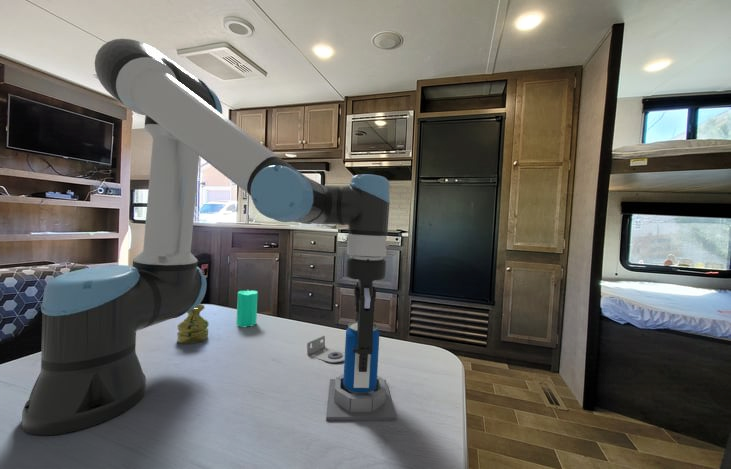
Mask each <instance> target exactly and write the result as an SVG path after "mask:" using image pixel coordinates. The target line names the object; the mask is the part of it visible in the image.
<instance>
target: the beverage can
mask: <svg viewBox="0 0 731 469" xmlns="http://www.w3.org/2000/svg"><path fill="white" fill-rule="evenodd" d="M357 328H358V321H355V320H354V321H352V322H350V323H348V327H347V328H346V330H345V340H344V341H345V342H344V343H345V345H344V352H345V359H344V361H343V362H344V363H343V374H344V378H343V384H344V387H345V388H346V389H348V390H349V391H350V392H351V393H354V394H358V395H363V394H368V393H370V392H371V391H372V390H374V389H375V388H376V386H377V376H378V370H379V369H378V368H379V365H378V364H379V350H380V348H379V347H380V345H379V344H380V331H379V329H378V328H379V327H378V325H377V324H376V322H375V323H374V322H373V342H372V349H373V352H372V354H371V357H370V375H369V388H354V370H355V353H353V349H356V348H357Z"/></svg>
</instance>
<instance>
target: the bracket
mask: <svg viewBox="0 0 731 469" xmlns="http://www.w3.org/2000/svg"><path fill="white" fill-rule="evenodd" d="M325 347H326V336H325V335H322V336H319V337H317V338H315V339H312V340H310V341H308V342H307V343H306V353H307V355H310V354H313V353H315V352H317V351H319V350H321V349H323V348H325ZM313 358H315V359H316V360H319V361H322V362H326V363H331V364H333V363H334V364H335V363H336V364H337V363H342V362H344V359H345V351H343V350H342V351H341V350H337V349H334V348H329V349H328V350H324V351H323V352H321V353H319V354H318V355H315V356H313Z"/></svg>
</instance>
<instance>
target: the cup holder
mask: <svg viewBox="0 0 731 469" xmlns="http://www.w3.org/2000/svg"><path fill="white" fill-rule="evenodd" d="M343 378H344V373H343V374H340V375H339V376H337V377H335V378H330V379H329V385H328V386H329V387H328V388H329V389H328V395H327V397H328V398H327V406H326V413H325V414H326V416H325V420H326V421H396V418H397V417H396V416H397V415H396V413H395V410H394V405H393V402H392V398H391V395H390V391H389V387H388V383H387V379H384V378H383V377H382V376H379V375H377V386H376V388H375V389H374V390H372V391H371V392H370V393H368V394H363V395H358V394H354V393H351V392H350V391H349V390H348V389H346V388H345V387H344V384H343Z"/></svg>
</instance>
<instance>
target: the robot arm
mask: <svg viewBox="0 0 731 469" xmlns="http://www.w3.org/2000/svg"><path fill="white" fill-rule="evenodd" d="M94 57H95V59H94V69H95V70H94V71H95V74H96V76H97V79H98V81H99V82H100V84H101V86H102V87H103V88H104V89H105V90H106V92H107V93H108V94H110V96H112V97H113V98H114V99H116V100H117V101H118V102H120V103H121V104H122V105H124V106H125V107H126V108H127V109H128V110H130V111H132V112H134V113H135V114H138V115H142V116H144V129H145V131H146V132H148V133H149V135H150V136H151V137H152V144H151V155H150V156H151V157H150V166H149V167H150V168H149V169H150V170H149V178H148V189H147V200H146V203H147V204H146V212H145V215H146V216H145V225H144V226H145V227H144V237H143V238H144V239H143V246H142V248H143V249H142V251H141V252H140V253H139V254H137V255H136V256H134V257H133V258H132V265H127V264H126V265H124V264H121V265H120V264H118V265H116V264H115V265H113V264H112V265H104V266H93V267H87V268H81V269H77V270H73V271H72V270H71V271H69V272H66V273H62V274H60V275H57V276H55V277H53V278H52V279H51V280H50V281H48V283H47V284H46V285H45V287H44V291H43V296H42V297H43V298H42V302H41V305H40V311H41V313H42V316H41V318H42V319H41V320H42V321H41V324H42V325H41V354H40V355H41V359H40V360H41V362H40V372H39V374H38V376H37V379H36V381H35V382H34V384H33V387H32V389H31V392H30V394H29V397H28V400H27V401H26V402H25V404H24V406H23V409H22V412H21V428H22V430H23V431H24V432H26V433H28V434H30V435H34V436H35V435H36V436H53V435H60V434H61V435H62V434H66V433H73V432H77V431H79V430H83V429H87V428H91V427H93V426H96V425H98V424H101V423H104V422H106V421H109V420H111V419H113V418H115V417H117V416H119V415H121V414H123V413H124V412H126V411H128V410H129V409H131V408H132V407H134V406H135V405H136V404H137V403H139V402H140V400H141V399H142V398H143V397H144V396H145V394H146V390H147V376H146V375H145V373H144V372H143V371H144V370H143V368H142V366H141V365H142V364H141V363H140V360H139V357H138V355H137V353H136V345H137V344H136V343H137V342H136V341H137V332H138V331H140V330H142V329H146V328H149V327H151V326H154V325H157V324H160V323H164V322H166V321H169V320H172V319H177V318H179V317H182V316H184V315H185V314H186V313H187V312H189V311H191V310H193V309H194V308H196V307H197V306H198V305H199V304H201V302H202V301H203V300H204V297H205V295H206V292H207V284H208V283H207V278H206V276H205V275H203V273H204V272H203V270H202V269H201V268H200V267H199V266H198V262H199V261H198V258H196V256H194V254H192V252H191V251H192V242H193V229H194V218H195V211H196V199H197V198H196V197H197V186H198V174H199V166H200V158H202V159H203V160H204V161H206V162H207V163H208V164H209V165H211V167H213V168H214V169H216V170H217V171H218V172H220V173H221V174H222V175H223V176H224V177H226V178H227V179H229V180H230V181H231V182H233V183H234V184H235V185H236V186H237V187H239V188H240V189H241V190H243V191H244V192H245V193H246V194H248V196H250V198H251V200H252V203H253V205H254V208H255V209H256V210H257V211H258V212H259V213H260V214H262V215H263V216H265V217H266V218H268V219H272V220H275V221H277V222H282V223H299V224H304V225H305V224H306V225H311V224H312V225H313V224H315V225H340V226H347V227H348V233H347V243H346V244H347V246H346V254H347V255H348V256H349V257H347V259H346V268H345V269H346V270H345V271H346V272H345V274H346V277H347V278H349V279H351V280H358V281H357V282H356V285H354V288H353V292H354V293H353V295H354V307H355V315H354V321H358V328H357V348H356V349H353V353H355V370H354V388H369V375H370V357H371V354H372V352H373V349H372V342H373V323H374V321H375V320H374V316H375V303H376V297H377V290H376V288H375V286H373V282H374V281H381V280H383V279H385V277H386V267H387V266H386V265H387V261H386V260H385V259H384V258H385V257H386V256H387V247H389V246H390V243H391V242H390V240H388V229H389V228H388V227H389V218H390V217H389V215H390V214H389V213H390V205H391V204H390V181H389V180H388V179H387V177H385V176H383V175H382V176H381V175H377V174H364V173H363V174H356V175H353V176H352V177H351V179H350V183H349V185H345V186H344V185H342V186H339V185H338V186H337V185H336V186H335V185H323V184H322V183H319V182H317V181H315V180H313V179H312V178H310V177H307V176H306V175H304V174H303V173H301V171H299V170H298V169H296V168H295V167H294V166H292V165H291V164H289V163H288V162H287V161H285V160H284V159H282V158H281V157H280V156H278V155H277V154H276V153H275V152H273V151H272V150H271V149H269V148H268V147H266V146H265V145H264V144H262V143H261V142H260V141H258V140H257V139H256V138H255V137H253V136H252V135H250V134H249V133H248V132H246V131H245V130H243V129H242V128H241V127H240V126H238V125H237V124H236V123H234V121H232V120H231V119H229V118H228V117H226V116H225V115H224V114H223V107H222V103H221V101H220V99H219V97H218V96H217V94H216V93H215V92H214V91H213V89H211V87H209V86H208V85H207V84H206V83H205V82H204V81H203V80H202V79H200V78H198V77H197V76H195V75H193V74H191V73H189V72H188V71H187V70H185V69H184V68H183V67H181V66H180V65H179V64H177V63H176V62H174V61H173V60H171V59H170V58H169V57H167V56H166V55H164V53H162V52H161V51H159V50H157V49H156V48H155V47H152V46H151V45H149V44H147V43H144V42H142V41H139V40H135V39H131V38H117V39H112V40H109V41H107V42H106V43H104V44H102V45H101V47H100V48H99V49H98V50H97V52H96V55H95V56H94ZM187 314H188V313H187Z"/></svg>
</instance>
